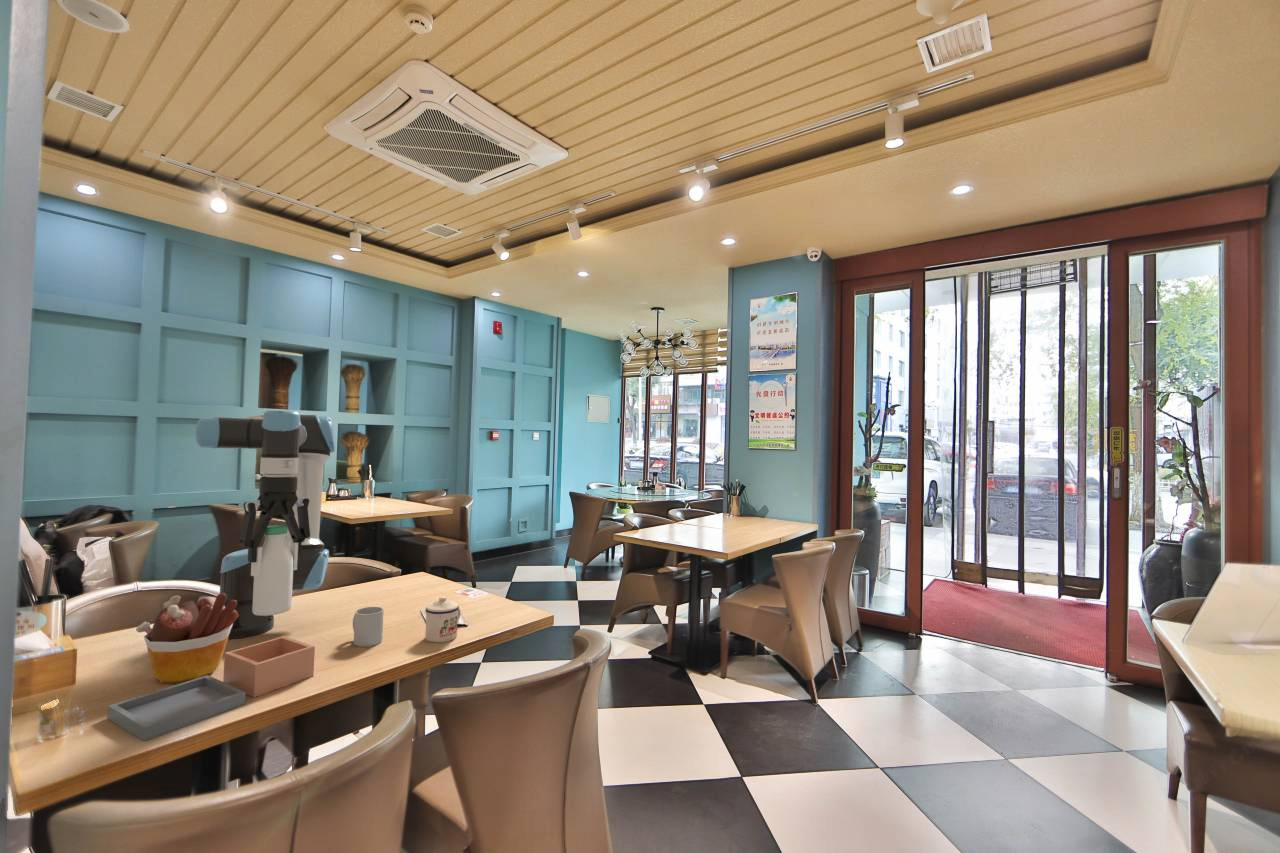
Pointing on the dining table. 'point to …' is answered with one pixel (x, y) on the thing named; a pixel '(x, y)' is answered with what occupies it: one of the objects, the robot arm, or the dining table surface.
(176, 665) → the bucket of meat
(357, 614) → the cup
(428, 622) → the teacup with lid
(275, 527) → the milk bottle
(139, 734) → the tray
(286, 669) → the deep holder
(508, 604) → the dining table surface
